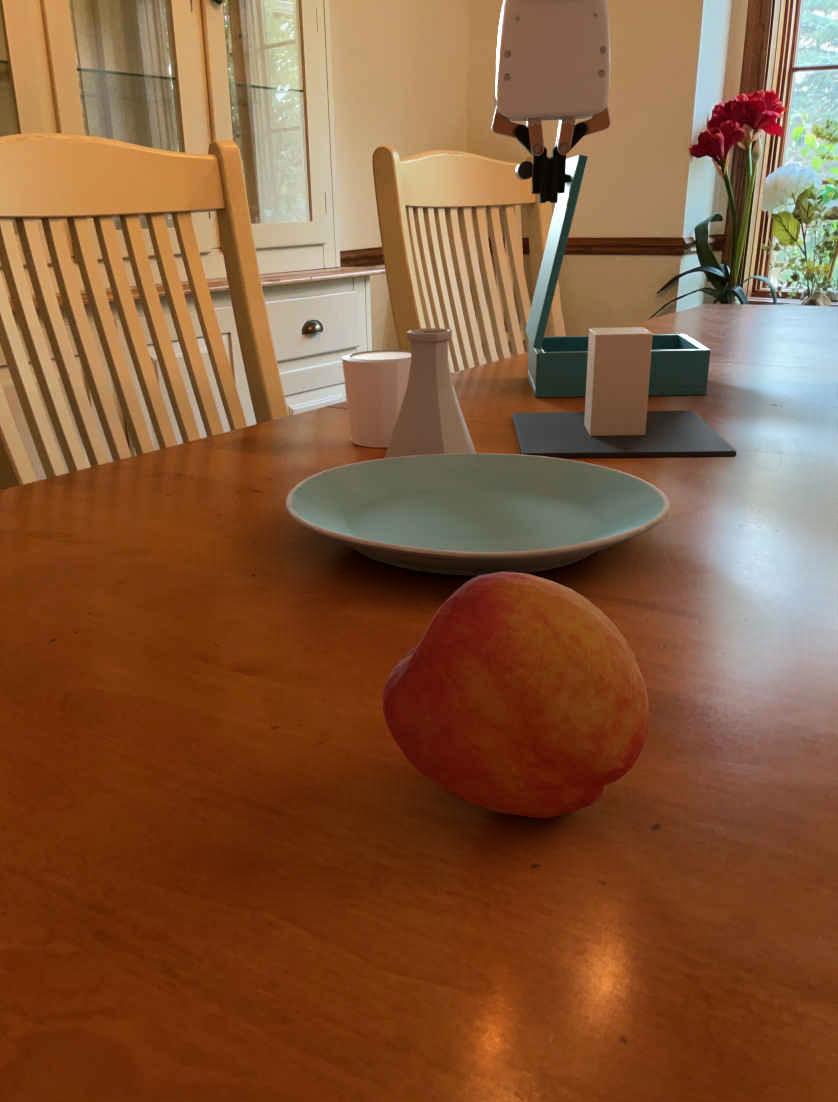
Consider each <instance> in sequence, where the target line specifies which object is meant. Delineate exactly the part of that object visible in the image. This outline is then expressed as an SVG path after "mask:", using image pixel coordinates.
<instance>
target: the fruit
mask: <svg viewBox="0 0 838 1102" xmlns="http://www.w3.org/2000/svg"><path fill="white" fill-rule="evenodd" d="M381 697H382V712H383V715H384V719H385V723H386V726H387V729H388V730H389V732H390V734H391V736H392V738H393V740H394V742H395V743H396V745H397V746H398V747H399V749H400V750H401V752H402V754H403V755H404V757H405V758H406V759H407V761H408V762H409V764H411V765H412V766H413V767H414V768H415V769H416V770H417V771H418V772H419V773H420V774H422V775H423V776H424V777H426V778H427V779H429V780H430V781H432V782H433V783H434V784H436V785H437V786H438V787H441V788H442V789H444V790H445V791H447V792H448V793H451V794H452V795H454V796H455V797H457V798H459V799H462V800H463V801H466V802H468V803H470V804H471V805H474V806H477V807H480V808H483V809H485V810H488V811H492V812H495V813H500V814H504V815H505V814H506V815H513V816H519V817H528V818H535V819H547V818H555V817H560V816H563V815H566V814H569V813H573V812H576V811H579V810H581V809H584V808H587V807H589V806H592V805H593V804H594V803H595V802H597V800H598V799H599V798H600V797H601V796H602V795H603V793H604V787H605V786H606V785H609V784H612V783H615V782H617V781H618V780H619V779H621V778H622V777H624V776H625V775H626V774H627V773H628V772H629V771H631V770H632V768H633V767H634V765H635V764H636V762H637V761H638V759H639V757H640V755H641V753H642V751H643V748H644V745H645V742H646V738H647V735H648V727H649V714H650V713H649V711H650V704H649V698H648V692H647V686H646V682H645V680H644V676H643V674H642V672H641V669H640V666H639V664H638V662H637V659H636V657H635V654H634V652H633V650H632V648H631V647H630V645H629V642H627V639H626V637H624V635H623V634H622V633H621V632H620V630H619V629H618V627H617V626H616V625H615V624H614V622H613V621H611V619H610V618H609V617H608V616H607V615H606V614H605V613H604V612H603V611H602V610H601V609H600V608H599V607H598V606H596V605H595V604H594V603H593V602H591V601H590V600H589V599H587V598H586V597H584V596H583V595H582V594H580V593H578V592H577V591H575V590H574V589H572V588H569V587H567V586H565V585H563V584H560V583H558V582H555V581H553V580H550V579H548V578H547V579H546V578H544V577H540V576H537V575H533V574H530V573H514V572H497V573H491V574H485V575H479V576H475V577H473V578H471V579H469V580H467V581H466V582H464V583H463V584H462V585H461V586H460V587H458V588H457V589H456V590H455V591H454V592H453V593H452V594H451V595H450V596H449V597H448V598H447V599H446V600H445V601H444V602H443V603H442V604H441V605H440V607H439V608H438V610H437V611H436V613H435V614H434V616H433V617H432V619H431V621H430V622H429V623H428V625H427V627H426V628H425V629H424V632H423V634H422V636H421V638H420V640H419V642H418V644H417V645H416V646H414V647H413V648H412V649H410V650H409V651H408V652H407V653H405V654H404V655H403V656H401V658H400V659H399V660H398V661H397V662H396V664H395V665H394V667H393V668H392V669H391V672H390V674H389V675H388V678H387V680H386V681H385V685H384V688H383V691H382V696H381Z"/></svg>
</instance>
